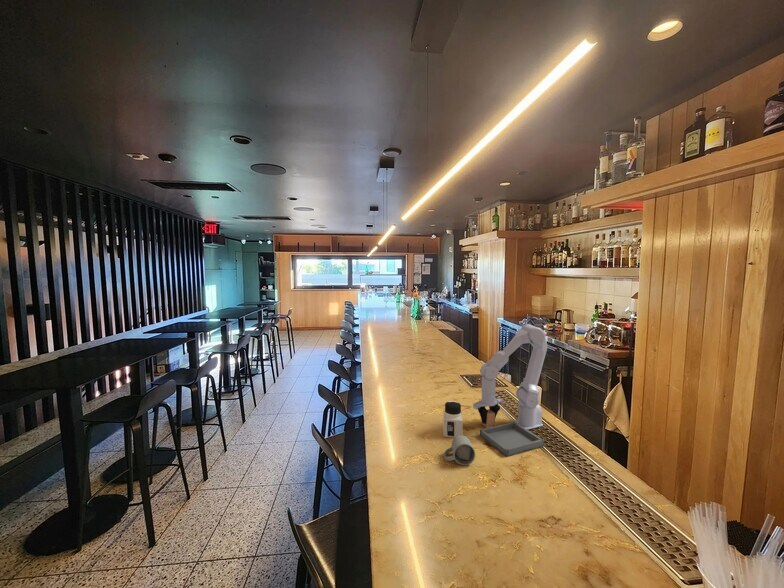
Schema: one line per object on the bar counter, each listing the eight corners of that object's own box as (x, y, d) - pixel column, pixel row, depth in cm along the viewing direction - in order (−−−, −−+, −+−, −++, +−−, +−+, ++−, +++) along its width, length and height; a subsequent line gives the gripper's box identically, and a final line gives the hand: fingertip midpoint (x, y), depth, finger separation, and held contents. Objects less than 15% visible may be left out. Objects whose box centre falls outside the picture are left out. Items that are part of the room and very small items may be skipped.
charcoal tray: (514, 427, 135) (514, 421, 135) (544, 446, 120) (544, 440, 120) (479, 435, 129) (479, 429, 128) (506, 456, 114) (506, 450, 113)
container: (462, 438, 126) (462, 407, 126) (443, 436, 128) (443, 406, 127) (462, 429, 134) (462, 399, 133) (443, 427, 136) (443, 398, 135)
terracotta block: (489, 422, 140) (489, 409, 139) (494, 426, 136) (495, 412, 136) (481, 423, 138) (481, 410, 138) (487, 427, 135) (487, 414, 134)
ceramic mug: (470, 452, 117) (469, 432, 116) (475, 465, 109) (475, 444, 108) (442, 452, 117) (441, 433, 117) (445, 466, 109) (445, 445, 108)
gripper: (495, 386, 143) (495, 415, 143) (469, 391, 137) (469, 420, 138) (506, 391, 136) (506, 421, 137) (478, 397, 131) (478, 428, 132)
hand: (488, 421), depth 137 cm, fingers closed on terracotta block, 4 cm apart
